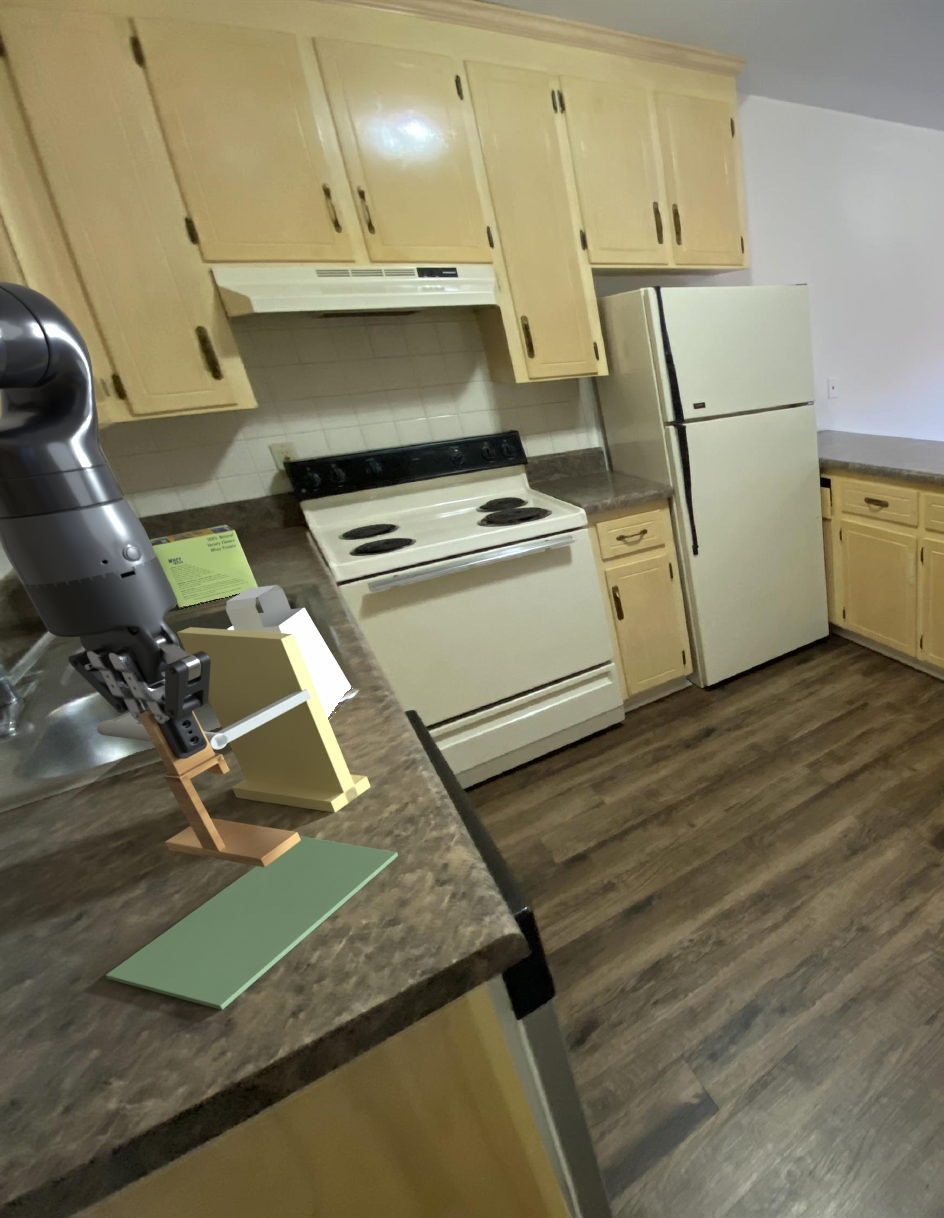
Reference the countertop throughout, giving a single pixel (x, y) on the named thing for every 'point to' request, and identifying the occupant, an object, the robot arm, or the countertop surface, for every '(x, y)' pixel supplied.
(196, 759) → the phone stand
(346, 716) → the countertop surface
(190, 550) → the protein box
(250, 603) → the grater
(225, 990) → the mat
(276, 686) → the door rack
